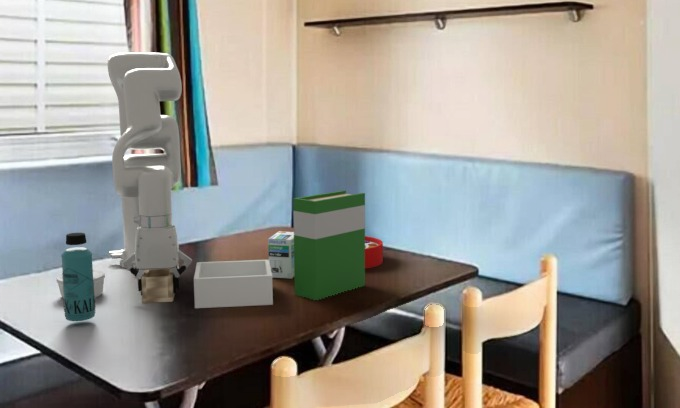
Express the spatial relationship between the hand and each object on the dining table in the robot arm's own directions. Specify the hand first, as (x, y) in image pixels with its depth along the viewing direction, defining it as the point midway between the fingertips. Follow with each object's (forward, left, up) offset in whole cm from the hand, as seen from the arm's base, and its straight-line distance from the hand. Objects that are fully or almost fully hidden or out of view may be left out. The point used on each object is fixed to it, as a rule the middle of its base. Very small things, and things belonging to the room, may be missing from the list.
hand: (159, 292), depth 179 cm
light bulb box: (+32, +17, -1) cm, 36 cm away
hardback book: (+42, -1, -1) cm, 42 cm away
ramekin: (-19, +4, -1) cm, 19 cm away
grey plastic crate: (+18, -3, -1) cm, 18 cm away
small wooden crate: (0, 0, -1) cm, 1 cm away
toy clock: (+51, +28, -2) cm, 59 cm away
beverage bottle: (-15, -18, -1) cm, 23 cm away
